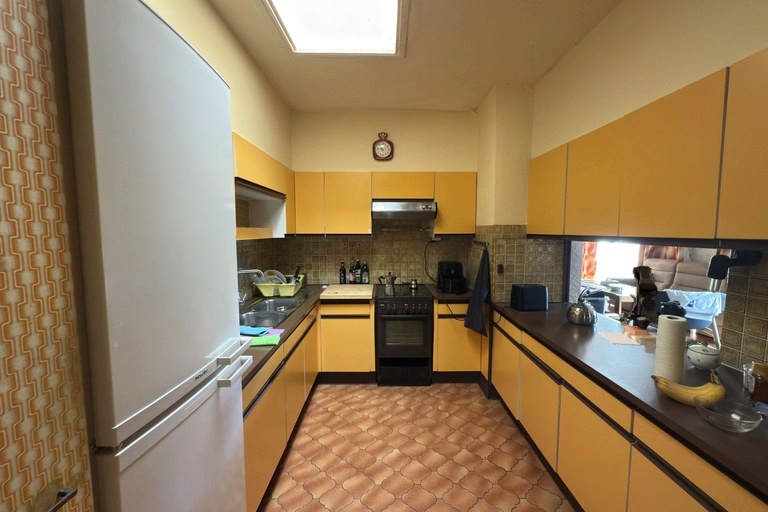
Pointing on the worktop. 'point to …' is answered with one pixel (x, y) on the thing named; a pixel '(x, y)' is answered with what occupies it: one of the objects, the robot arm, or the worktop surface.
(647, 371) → the worktop surface
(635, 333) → the tile
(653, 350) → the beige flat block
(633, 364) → the worktop surface
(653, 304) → the robot arm
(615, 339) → the mat
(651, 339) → the board
